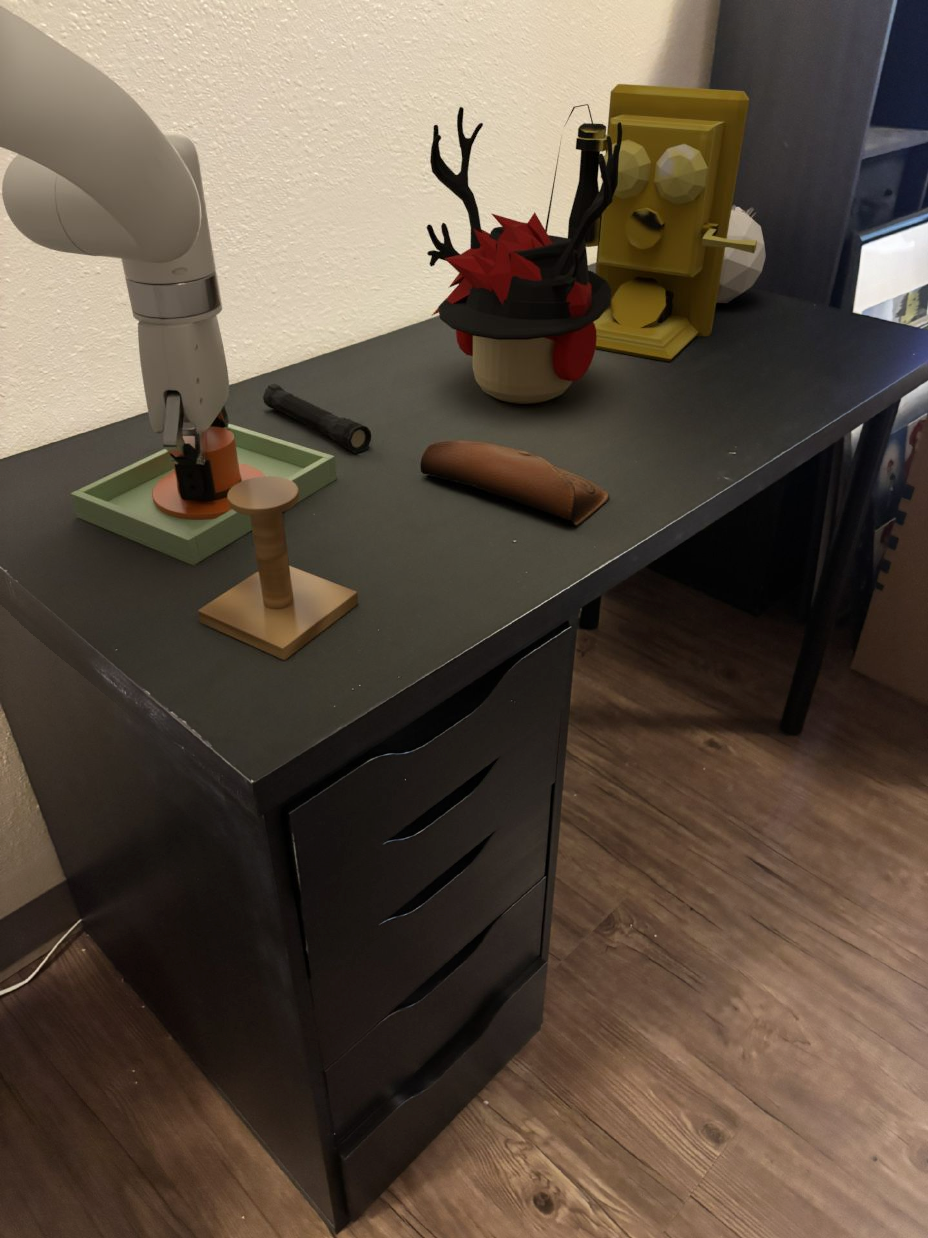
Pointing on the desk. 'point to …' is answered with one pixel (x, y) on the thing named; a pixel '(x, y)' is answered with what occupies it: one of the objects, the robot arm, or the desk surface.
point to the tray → (135, 516)
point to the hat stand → (274, 580)
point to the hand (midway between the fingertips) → (209, 480)
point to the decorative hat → (522, 290)
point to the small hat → (224, 476)
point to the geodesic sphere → (741, 256)
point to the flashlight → (319, 419)
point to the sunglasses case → (514, 477)
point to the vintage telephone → (662, 212)
